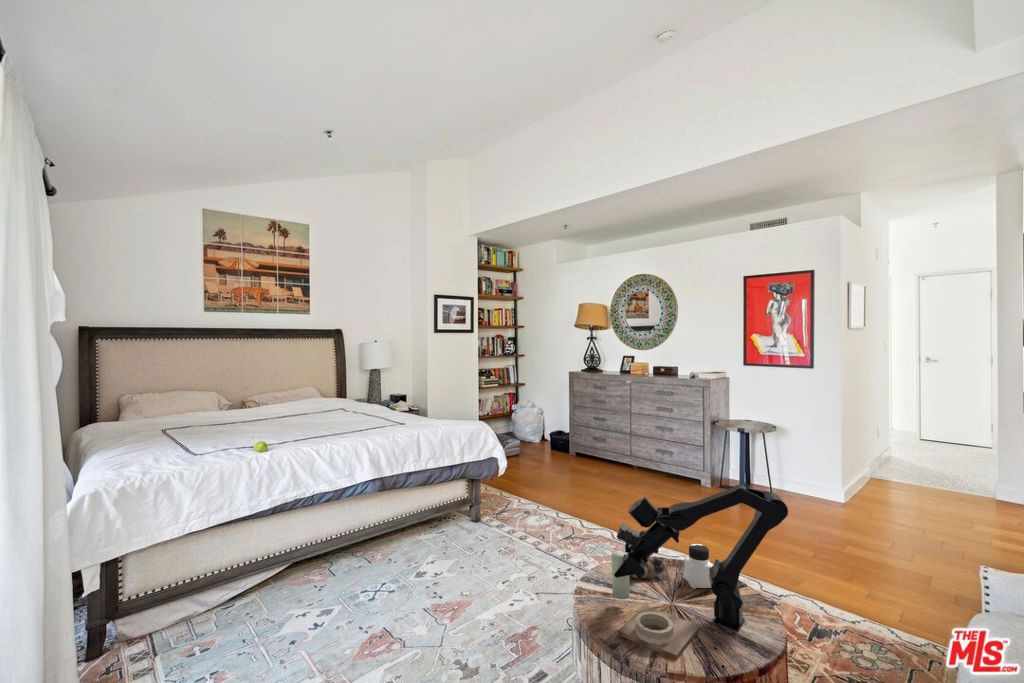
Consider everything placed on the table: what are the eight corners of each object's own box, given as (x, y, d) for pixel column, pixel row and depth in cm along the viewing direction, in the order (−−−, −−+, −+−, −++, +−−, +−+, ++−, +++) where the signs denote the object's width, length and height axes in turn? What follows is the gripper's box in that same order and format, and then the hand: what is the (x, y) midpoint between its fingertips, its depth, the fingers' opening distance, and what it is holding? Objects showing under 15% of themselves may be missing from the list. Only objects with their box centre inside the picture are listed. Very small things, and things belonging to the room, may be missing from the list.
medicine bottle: (714, 589, 151) (714, 551, 151) (692, 589, 151) (691, 551, 151) (706, 578, 158) (705, 541, 158) (684, 578, 158) (683, 541, 158)
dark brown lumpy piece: (620, 578, 159) (646, 588, 151) (619, 556, 159) (645, 565, 151) (642, 567, 167) (667, 576, 159) (641, 547, 167) (666, 555, 159)
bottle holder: (699, 630, 129) (699, 614, 129) (676, 660, 117) (676, 643, 117) (644, 609, 140) (644, 594, 140) (618, 634, 128) (617, 619, 128)
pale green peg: (632, 594, 142) (631, 553, 142) (624, 601, 138) (623, 559, 138) (617, 588, 145) (616, 549, 145) (609, 595, 141) (608, 554, 141)
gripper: (634, 506, 149) (599, 538, 153) (631, 529, 132) (592, 564, 135) (661, 534, 147) (625, 565, 150) (661, 561, 129) (621, 596, 132)
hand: (615, 571), depth 142 cm, fingers closed on pale green peg, 5 cm apart
